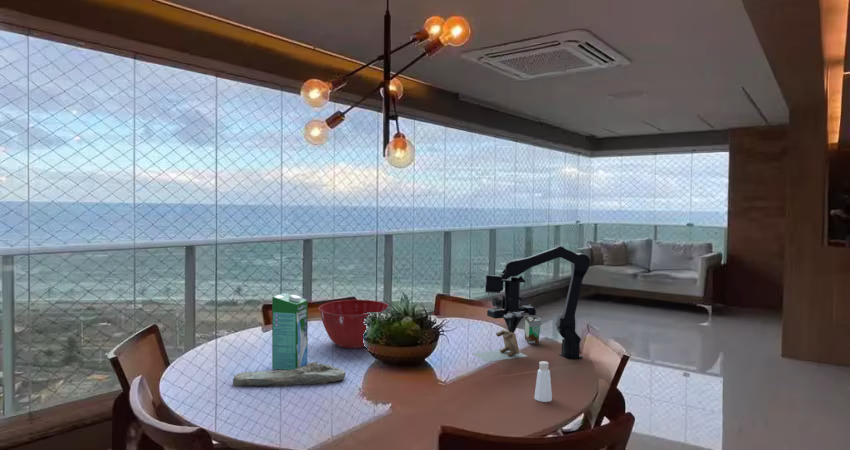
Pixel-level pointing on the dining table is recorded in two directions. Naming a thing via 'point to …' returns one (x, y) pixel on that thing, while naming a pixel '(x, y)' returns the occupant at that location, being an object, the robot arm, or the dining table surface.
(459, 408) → the dining table surface
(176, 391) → the dining table surface
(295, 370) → the elongated rock
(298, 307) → the milk carton
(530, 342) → the food container
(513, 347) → the stool
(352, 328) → the mixing bowl
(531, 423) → the dining table surface
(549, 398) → the pepper shaker
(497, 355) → the mat
